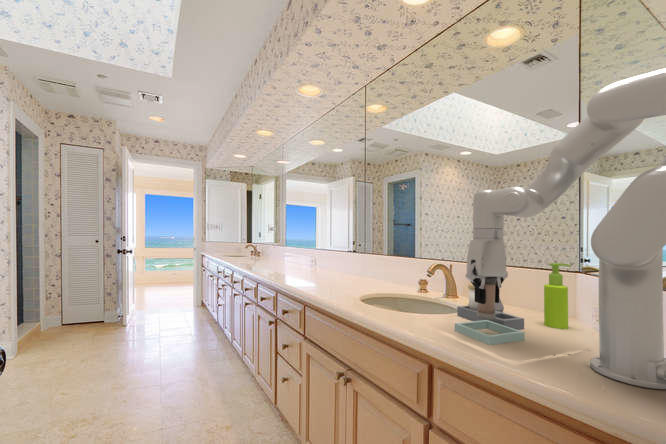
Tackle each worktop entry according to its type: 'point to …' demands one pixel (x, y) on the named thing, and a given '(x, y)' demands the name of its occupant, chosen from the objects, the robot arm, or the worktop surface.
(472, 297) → the fuse
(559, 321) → the soap dispenser
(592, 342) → the worktop surface
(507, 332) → the parts tray
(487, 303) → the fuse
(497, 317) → the fuse holder
